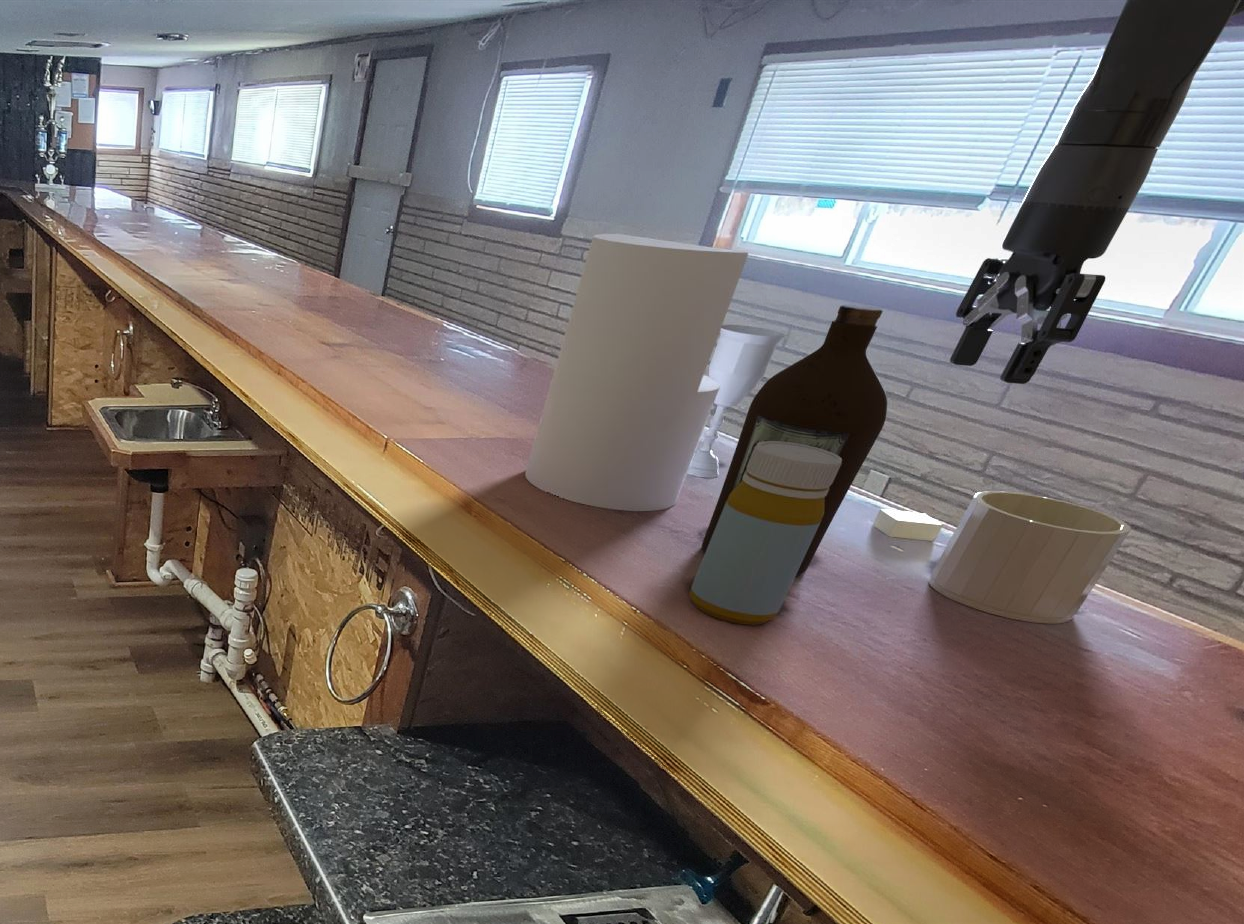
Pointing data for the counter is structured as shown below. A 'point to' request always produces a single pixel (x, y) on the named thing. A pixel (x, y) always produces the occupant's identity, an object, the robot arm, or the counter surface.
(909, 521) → the cream block
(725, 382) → the chalice
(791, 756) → the counter surface
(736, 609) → the bottle
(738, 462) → the olive oil
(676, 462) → the cylinder
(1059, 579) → the cream round pot
